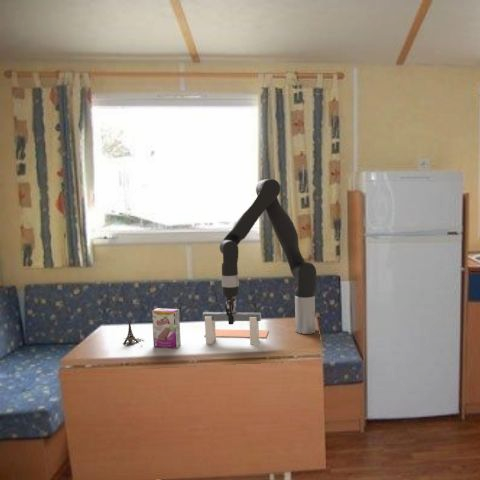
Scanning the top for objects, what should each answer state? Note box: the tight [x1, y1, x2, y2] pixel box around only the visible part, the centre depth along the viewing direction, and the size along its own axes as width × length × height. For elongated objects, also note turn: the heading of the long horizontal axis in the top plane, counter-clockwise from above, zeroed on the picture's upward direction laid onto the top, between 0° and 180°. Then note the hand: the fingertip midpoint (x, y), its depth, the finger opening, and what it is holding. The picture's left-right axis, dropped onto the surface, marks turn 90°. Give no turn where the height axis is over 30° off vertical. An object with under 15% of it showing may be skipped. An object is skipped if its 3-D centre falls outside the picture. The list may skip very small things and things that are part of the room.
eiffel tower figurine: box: [122, 317, 143, 348], centre depth 185 cm, size 15×10×13 cm
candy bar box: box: [151, 307, 182, 349], centre depth 180 cm, size 11×5×16 cm, turn 74°
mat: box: [203, 328, 269, 339], centre depth 193 cm, size 29×10×1 cm, turn 80°
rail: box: [202, 311, 262, 322], centre depth 182 cm, size 26×3×3 cm, turn 80°
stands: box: [204, 316, 260, 346], centre depth 182 cm, size 23×6×12 cm, turn 80°
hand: (231, 322), depth 182 cm, fingers closed on rail, 3 cm apart
